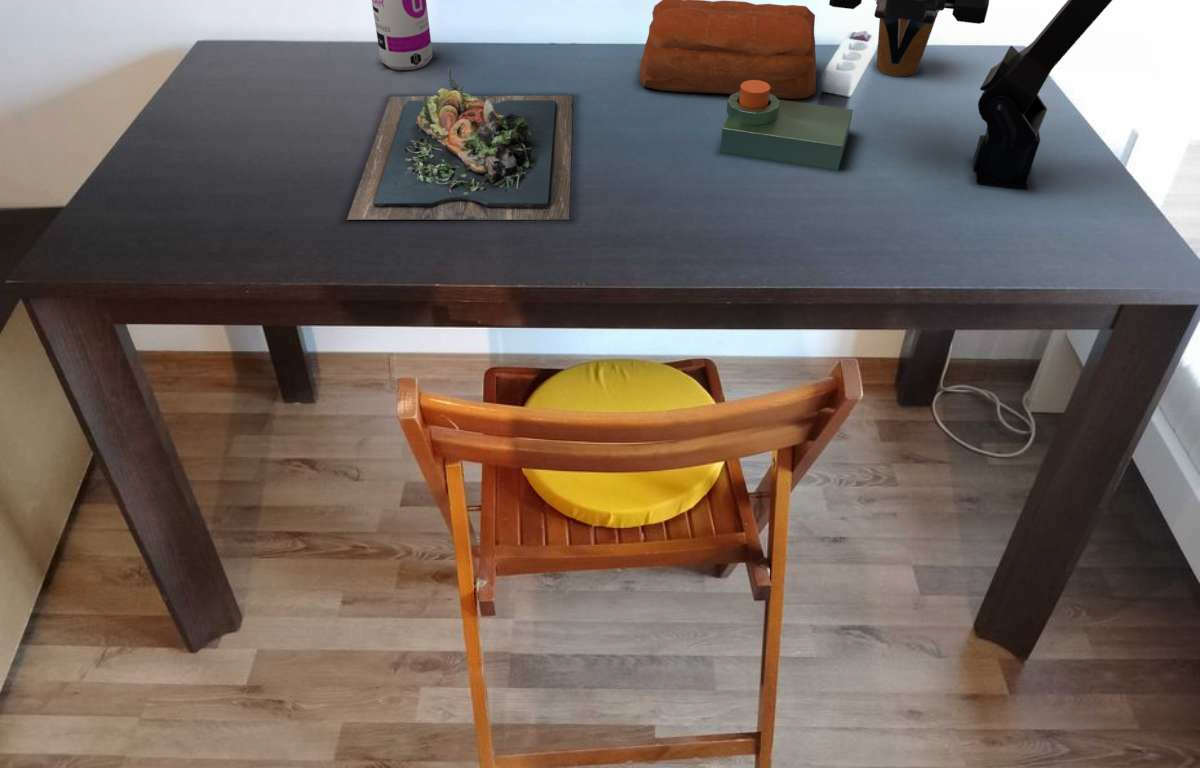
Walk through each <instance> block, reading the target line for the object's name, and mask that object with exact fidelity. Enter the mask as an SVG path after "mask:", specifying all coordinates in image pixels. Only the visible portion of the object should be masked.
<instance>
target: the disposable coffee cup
mask: <svg viewBox="0 0 1200 768" xmlns="http://www.w3.org/2000/svg"><path fill="white" fill-rule="evenodd" d="M940 11H941V10H938V11H936V17H935V22H934V23H933V24H925V25H924V26H923V27H922V28H921V29H920V30H919V31H918V32H917V34H916V35H915V36H914V38H913V39H912V41H911V43H910V44H909V46H908V48H907V50H906V51H905V53H904V55H903V57H902V58H901V60H900V62H899V63H898V65H897V64H892V62H891V55H890V47H889V39H888V34H887V30H886V27H885V24H884V22H883V20H882V19H881V18H879V21H878V23H879V24H878V35H877V36H878V37H877V51H876V52H877V54H876V68H877V70H878V71H879V72H880V73H883V74H885V75H888V76H891V77H910V76H914V75H915V74H917V72H918V70H919V68H920V64H921V61H922V58H923V56H924V53H925V50H926V49H927V48H926V47H927V45H928V42H929V39H930V36H931V33H932V31H933V28H934V25H935V23H936V20H937V17H938V14H939V12H940ZM907 21H908V20H906V19H901V20H900V32H899V43H898V48H899V45H900V42H901V39H902V36H903V33H904V30H905V27H906V24H907ZM897 52H898V51H897Z"/></svg>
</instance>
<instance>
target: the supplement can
mask: <svg viewBox="0 0 1200 768" xmlns="http://www.w3.org/2000/svg"><path fill="white" fill-rule="evenodd" d="M427 3H428V2H427V0H371V7H372V12H373V19H374V26H375V31H376V32H375V33H376V38H377V44H378V45H377V46H378V51H379V58H380V61H381V62H382V64H384V65H386V67H388V68H390V69H392V70H397V71H410V70H416V69H420V68H423V67H425V66H426V65H428V63H429V62H430V60H432V58H433V48H432V47H433V46H432V39H431V37H432V36H431V32H430V31H431V30H430V23H429V21H430V20H429V12H428V4H427Z"/></svg>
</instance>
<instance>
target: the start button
mask: <svg viewBox="0 0 1200 768" xmlns="http://www.w3.org/2000/svg"><path fill="white" fill-rule="evenodd" d="M769 95H770V85H769V84H768V83H766V82H763V81H759V80H749V81H745V82H743V83H742V84H741V87H740V96H739V105H741V106H743V107H745V108H750V109H762V108H765V107H768V104H769Z"/></svg>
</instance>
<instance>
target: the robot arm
mask: <svg viewBox="0 0 1200 768" xmlns="http://www.w3.org/2000/svg"><path fill="white" fill-rule="evenodd" d="M862 1H863V0H829V1H828V5H829V6H830V7H833V8H838V9H839V8H840V9H846V10H847V9H849V10H855V9H856V8H857V7H859V6H860V5H861V4H862ZM1112 1H1113V0H1067V1H1066V2H1065V3H1064V4H1063V5H1062V7H1061V8H1060V9H1059V10H1058V11H1057V12H1056V14H1055V15H1054V16H1053V17H1052V19H1050V21H1049V22H1048V23H1047V25H1046V26H1045V27H1044V28H1043V29H1042V31H1041V32H1040V33H1039V34H1038V35H1037V36H1036V37H1035V39H1034V40H1033V41H1032V42H1031V43H1029V44H1028V45H1027V46H1025V48H1022V49H1021V50H1020V51H1018V50H1017V49H1016V48H1015V47H1014V46H1013V45H1010V46H1009V47H1008V49H1007V51H1006V53H1005V55H1004V56H1003V58H1002V59H1001V60H1000V62H998V63H997V64H996V65H995V66H992V67H991V68H990V70H989V72H988V74H987V75H986V77H985V79H984V81H983V83H982V85H981V86H980V88H979V90H980V91H983V92H982V93H981V96H980V97H979V99H978V103H977V109H978V114H979V115H980V118H981V120H983V122H985V123H986V129H985V133H984V134H981V135H980V136H978V137H979V138H978V141H977V144H976V147H975V152H974V155H973V159H972V163H971V164H972V171H973V173H974V174H975V182H976V183H977V184H982V185H986V186H987V185H989V186H997V187H1004V188H1005V187H1006V188H1014V189H1022V190H1028V189H1029V187H1030V180H1029V176H1030V174H1031V170H1032V167H1033V165H1034V161H1035V158H1036V155H1037V152H1038V149H1039V145H1040V142H1041V136H1040V132H1039V131H1040V129H1041V127H1042V124H1043V122H1044V120H1045V117H1046V114H1047V112H1048V108H1047V106H1046V105H1045V103H1044V102H1043V100H1042V99H1041V97H1040V96H1039V92H1040V91H1041V89H1042V88H1043V86H1044V84H1045V83H1046V81H1047V79H1048V77H1049V75H1050V73H1052V70H1053V69H1054V68H1055V67H1056V66H1057V64H1058V63H1059V62H1060V61H1061V60H1062V59H1063V57H1064V56H1065V55H1066V54H1067V53H1068V52H1069V51H1070V49H1071V48H1073V46H1074V45H1075V44H1076V42H1077V41H1079V39H1080V38H1081V36H1082V35H1084V34H1085V32H1086V31H1087V30H1088V29H1089V28H1090V27H1091V25H1092V24H1093V23H1094V22H1095V21H1096V20H1097V19H1098V18H1099V16H1100V15H1101V14H1102V13H1103V12H1104V11H1105V10H1106V8H1107V7H1108V6H1109V5H1110V4H1111V3H1112ZM875 5H876V7H875V10H874V14H873V15H874V17H875V18H876V19H880V18H881V19H882V20H883V22H884V24H885V27H886V30H887V34H888V39H889V47H890V55H891V62H892V64H897V65H898V63H899V62H900V60H901V58H902V57H903V55H904V53H905V51H906V50H907V48H908V46H909V44H910V43H911V41H912V39H913V38H914V36H915V35H916V34H917V32H918V31H919V30H920V29H921V28H922V27H923V26H924V25H925V24H933V23H934V22H935V23H936V20H935V17H936V11H938V10H940V11H944V10H945V9H949V10H952V13H951V15H952V17H954V19H955V20H956V21H957V22H960V23H961V22H962V23H969V24H977V25H980V24H985V22H986V17H987V13H988V10H989V6H990V0H875ZM936 18H937V17H936ZM901 19H906V20H908V21H907V24H906V27H905V30H904V33H903V36H902V39H901V42H900V45H899V48H898V43H899V32H900V20H901ZM935 23H934V24H935ZM897 51H898V52H897Z"/></svg>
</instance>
